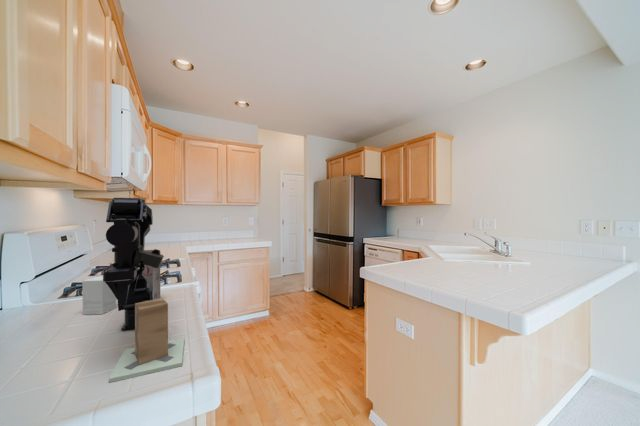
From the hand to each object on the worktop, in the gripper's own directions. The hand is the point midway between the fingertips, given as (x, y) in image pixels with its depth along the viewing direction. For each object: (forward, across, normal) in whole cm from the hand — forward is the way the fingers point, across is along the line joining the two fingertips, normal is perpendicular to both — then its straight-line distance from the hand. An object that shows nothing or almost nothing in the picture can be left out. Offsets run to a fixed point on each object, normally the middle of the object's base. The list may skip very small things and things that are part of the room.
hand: (127, 299), depth 71 cm
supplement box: (+13, +38, +16) cm, 43 cm away
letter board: (+13, -10, -7) cm, 18 cm away
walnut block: (+12, -10, -7) cm, 17 cm away
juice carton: (+13, +41, +1) cm, 43 cm away
